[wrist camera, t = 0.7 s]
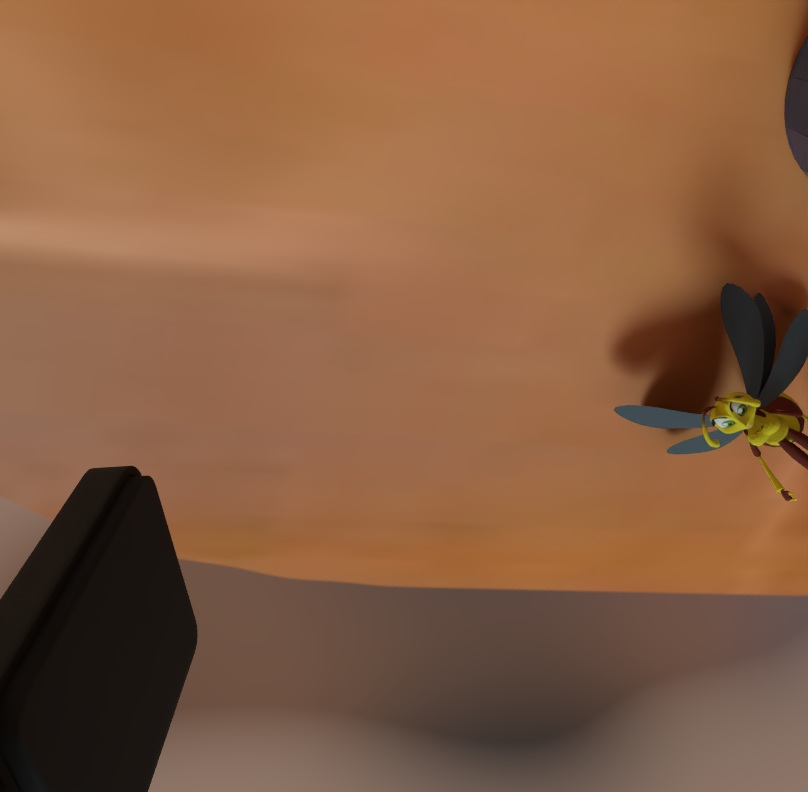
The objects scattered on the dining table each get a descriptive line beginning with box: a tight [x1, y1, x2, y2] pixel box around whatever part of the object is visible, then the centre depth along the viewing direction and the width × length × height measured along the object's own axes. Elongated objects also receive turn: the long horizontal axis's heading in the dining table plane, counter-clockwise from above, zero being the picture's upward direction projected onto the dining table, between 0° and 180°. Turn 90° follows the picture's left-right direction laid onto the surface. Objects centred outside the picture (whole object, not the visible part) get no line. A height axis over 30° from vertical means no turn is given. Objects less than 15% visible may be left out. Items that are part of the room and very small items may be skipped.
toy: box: [614, 283, 808, 501], centre depth 44 cm, size 12×8×15 cm
